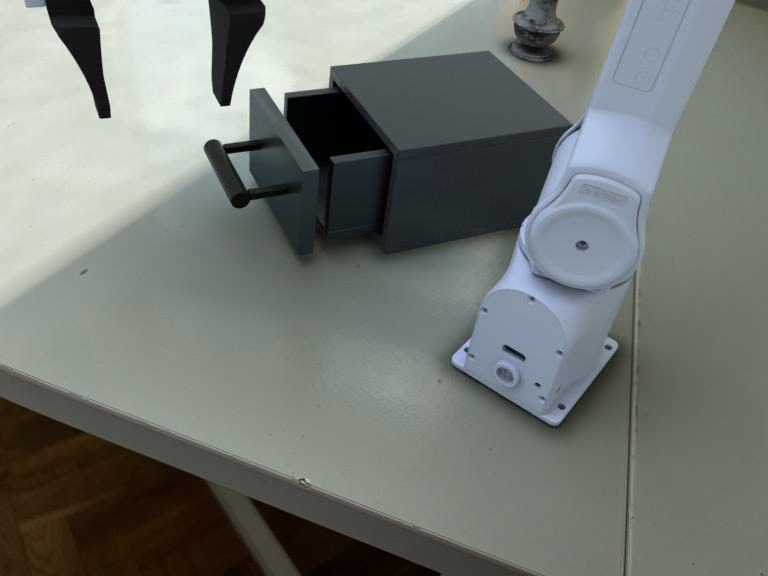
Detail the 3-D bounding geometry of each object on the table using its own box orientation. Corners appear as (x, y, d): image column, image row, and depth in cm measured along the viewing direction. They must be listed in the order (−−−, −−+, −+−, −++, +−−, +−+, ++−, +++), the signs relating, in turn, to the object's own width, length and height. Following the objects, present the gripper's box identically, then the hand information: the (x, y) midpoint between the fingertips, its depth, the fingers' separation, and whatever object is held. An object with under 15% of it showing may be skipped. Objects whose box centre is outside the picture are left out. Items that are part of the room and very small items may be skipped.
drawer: (241, 268, 55) (240, 180, 50) (197, 178, 62) (193, 94, 57) (460, 225, 61) (478, 144, 57) (397, 148, 69) (409, 71, 64)
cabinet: (384, 254, 59) (399, 150, 53) (322, 164, 67) (330, 65, 61) (543, 221, 65) (574, 124, 59) (469, 142, 73) (489, 50, 67)
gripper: (255, -140, 48) (253, 67, 57) (-6, -145, 42) (38, 85, 51) (293, -103, 43) (284, 116, 52) (6, -103, 38) (51, 142, 47)
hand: (163, 104), depth 51 cm, fingers open, 7 cm apart
